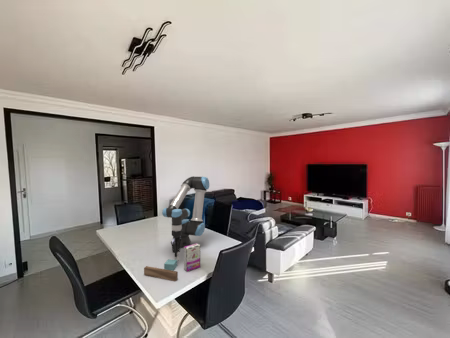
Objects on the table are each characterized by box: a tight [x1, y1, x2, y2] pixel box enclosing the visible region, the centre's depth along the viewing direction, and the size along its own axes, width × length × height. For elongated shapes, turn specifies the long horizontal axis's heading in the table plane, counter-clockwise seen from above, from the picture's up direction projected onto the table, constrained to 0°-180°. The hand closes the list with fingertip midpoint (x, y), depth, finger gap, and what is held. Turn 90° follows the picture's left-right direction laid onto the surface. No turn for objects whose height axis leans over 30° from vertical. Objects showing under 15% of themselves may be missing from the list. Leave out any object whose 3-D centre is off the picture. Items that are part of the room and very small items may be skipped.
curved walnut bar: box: [143, 265, 179, 282], centre depth 133 cm, size 2×24×5 cm, turn 74°
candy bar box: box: [183, 243, 201, 273], centre depth 145 cm, size 11×5×16 cm, turn 126°
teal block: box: [163, 259, 178, 271], centre depth 145 cm, size 7×7×4 cm
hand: (176, 260), depth 153 cm, fingers closed
